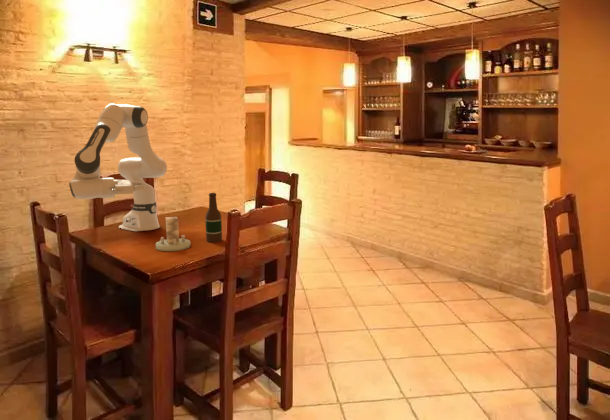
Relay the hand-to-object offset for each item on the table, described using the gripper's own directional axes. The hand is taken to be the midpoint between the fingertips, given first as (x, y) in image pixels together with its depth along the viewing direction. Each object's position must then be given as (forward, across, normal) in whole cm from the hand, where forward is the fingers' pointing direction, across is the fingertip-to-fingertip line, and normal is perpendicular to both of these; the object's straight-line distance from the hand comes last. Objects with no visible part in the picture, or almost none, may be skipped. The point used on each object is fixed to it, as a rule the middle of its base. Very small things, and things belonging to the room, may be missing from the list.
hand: (142, 185), depth 223 cm
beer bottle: (+33, +4, +30) cm, 45 cm away
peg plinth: (+12, 0, +30) cm, 32 cm away
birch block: (+12, 0, +28) cm, 31 cm away
